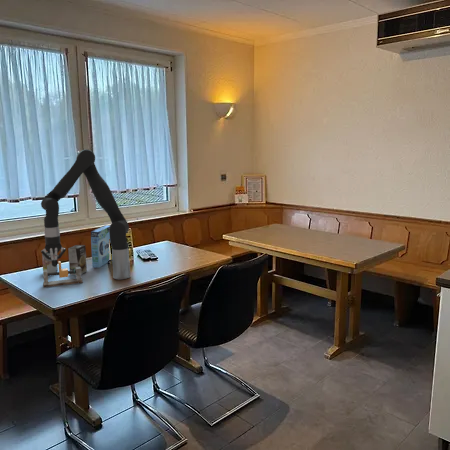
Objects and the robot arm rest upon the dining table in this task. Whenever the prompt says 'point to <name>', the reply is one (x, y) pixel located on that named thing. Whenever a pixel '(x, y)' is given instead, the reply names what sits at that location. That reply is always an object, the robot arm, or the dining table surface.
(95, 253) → the light blue box
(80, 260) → the coffee box
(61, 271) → the sleeve
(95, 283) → the dining table surface
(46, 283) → the cord rig
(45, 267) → the beverage can
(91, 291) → the dining table surface
